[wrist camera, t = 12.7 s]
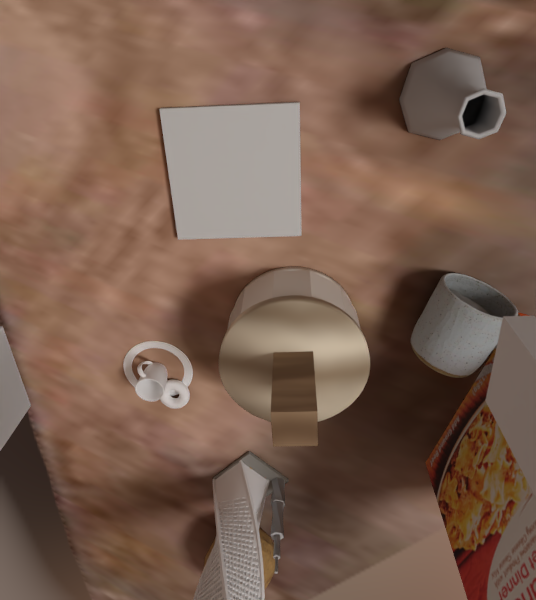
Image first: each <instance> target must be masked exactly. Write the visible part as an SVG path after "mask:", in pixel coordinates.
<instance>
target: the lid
mask: <svg viewBox="0 0 536 600" xmlns="http://www.w3.org/2000/svg"><path fill="white" fill-rule="evenodd" d="M369 372H370V355H369V350H368V346H367V342H366V339H365V337H364V334H363V332H362V331H361V329H360V327H359V326H358V324H357V323H356V322H355V321H354V319H353V318H352V317H350V316H349V315H348V314H347V313H346V312H345V311H343V310H342V309H340V308H339V307H337V306H335V305H333V304H332V303H329V302H327V301H324V300H322V299H318V298H314V297H309V296H301V295H288V296H279V297H275V298H270V299H267V300H264V301H261V302H259V303H257V304H255V305H253V306H251V307H250V308H248V309H247V310H245V311H244V312H242V313H241V314H240V315H239V316H238V317H237V318H236V319H235V320H234V321H233V322H232V323H231V325H230V326H229V328H228V329H227V331H226V333H225V335H224V338H223V341H222V344H221V348H220V353H219V373H220V377H221V380H222V383H223V385H224V387H225V389H226V391H227V392H228V394H229V395H230V396H231V398H232V399H233V400H234V401H235V402H236V403H237V404H238V405H239V406H241V407H242V408H243V409H244V410H246V411H248V412H249V413H251V414H252V415H255V416H257V417H259V418H261V419H264V420H267V421H270V422H271V425H272V438H273V446H318V422H319V421H322V420H325V419H328V418H330V417H333V416H334V415H336V414H338V413H340V412H342V411H343V410H344V409H346V408H347V407H348V406H350V405H351V404H352V403H353V402H354V401H355V400H356V399H357V397H358V396H359V395H360V393H361V392H362V390H363V389H364V387H365V385H366V383H367V380H368V376H369Z"/></svg>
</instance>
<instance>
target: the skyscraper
mask: <svg viewBox="0 0 536 600" xmlns="http://www.w3.org/2000/svg"><path fill="white" fill-rule="evenodd" d="M287 482H288V478H286V477H285V476H283V475H282V474H281V473H279V472H278V471H276V470H275V469H274V468H272V467H271V466H269V465H268V464H267V463H265V462H264V461H262V460H261V459H260V458H258V457H257V456H255V455H254V454H253V453H251V452H250V451H248V452H247V453H246V454H244V455H243V456H242V457H240V458H239V459H238V460H236V461H235V462H234V463H232V464H231V465H230V466H228V467H227V468H226V469H224V470H223V471H222V472H220V473H219V474H217V475H216V476H215V477H213V495H214V509H215V521H216V533H217V534H216V540H215V545H214V547H213V549H212V551H211V553H210V555H209V558H208V560H207V562H206V565H205V567H204V569H203V572H202V575H201V577H200V580H199V583H198V586H197V589H196V592H195V596H194V599H193V600H264V598H265V594H264V569H263V558H262V549H261V542H260V535H259V526H260V522H261V517H262V513H263V508H264V504H265V499H266V497H267V496H268V495H270V494H271V493H272V498H271V505H272V510H273V517H272V527H271V537H272V539H274V552H273V558H274V559H275V573H278V559H280V540H281V539H282V538H284V531H283V510H284V506H285V495H284V487H285V484H286V483H287Z"/></svg>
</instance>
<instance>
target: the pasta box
mask: <svg viewBox="0 0 536 600" xmlns="http://www.w3.org/2000/svg"><path fill="white" fill-rule="evenodd" d="M518 316H530V315H526V314H522V313H518ZM495 353H496V349H494V351H493V352H492V354H491V356H490V357H489V359H488V361H487V362H486V364H485V366H484V367H483V369H482V371H481V372H480V374H479V376H478V377H477V379H476V380H475V382H474V384H473V385H472V387H471V389H470V390H469V392H468V394H467V395H466V397H465V399H464V400H463V402H462V403H461V405H460V407H459V408H458V410H457V412H456V413H455V415H454V417H453V418H452V420H451V422H450V423H449V425H448V426H447V428H446V430H445V431H444V433H443V435H442V436H441V438H440V440H439V441H438V443H437V445H436V446H435V448H434V450H433V451H432V453H431V454H430V456H429V458H428V459H427V461H426V466H427V470H428V473H429V476H430V479H431V482H432V486H433V489H434V492H435V495H436V499H437V502H438V505H439V508H440V511H441V515H442V518H443V521H444V524H445V528H446V531H447V534H448V537H449V540H450V544H451V547H452V550H453V553H454V557H455V560H456V563H457V566H458V570H459V573H460V576H461V579H462V582H463V586H464V589H465V592H466V595H467V599H468V600H536V497H535V495H534V493H533V491H532V489H531V488H530V486H529V484H528V482H527V480H526V478H525V476H524V474H523V472H522V470H521V468H520V466H519V464H518V462H517V461H516V459H515V457H514V455H513V453H512V451H511V449H510V447H509V445H508V443H507V441H506V439H505V437H504V435H503V434H502V432H501V430H500V428H499V426H498V424H497V422H496V420H495V418H494V416H493V414H492V412H491V410H490V409H489V407H488V405H487V403H486V401H485V400H486V395H487V391H488V386H489V381H490V376H491V372H492V367H493V362H494V358H495Z"/></svg>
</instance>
